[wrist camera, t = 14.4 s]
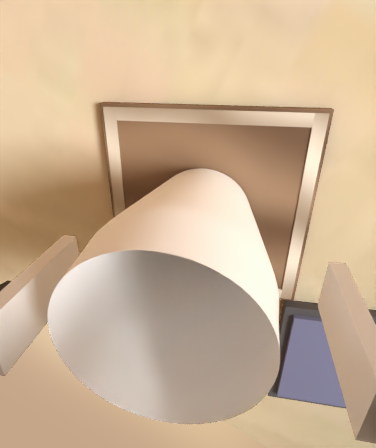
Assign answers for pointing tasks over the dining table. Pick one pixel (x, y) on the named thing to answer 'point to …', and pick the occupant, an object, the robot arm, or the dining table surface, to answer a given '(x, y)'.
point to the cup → (173, 305)
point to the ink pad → (306, 358)
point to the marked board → (226, 163)
